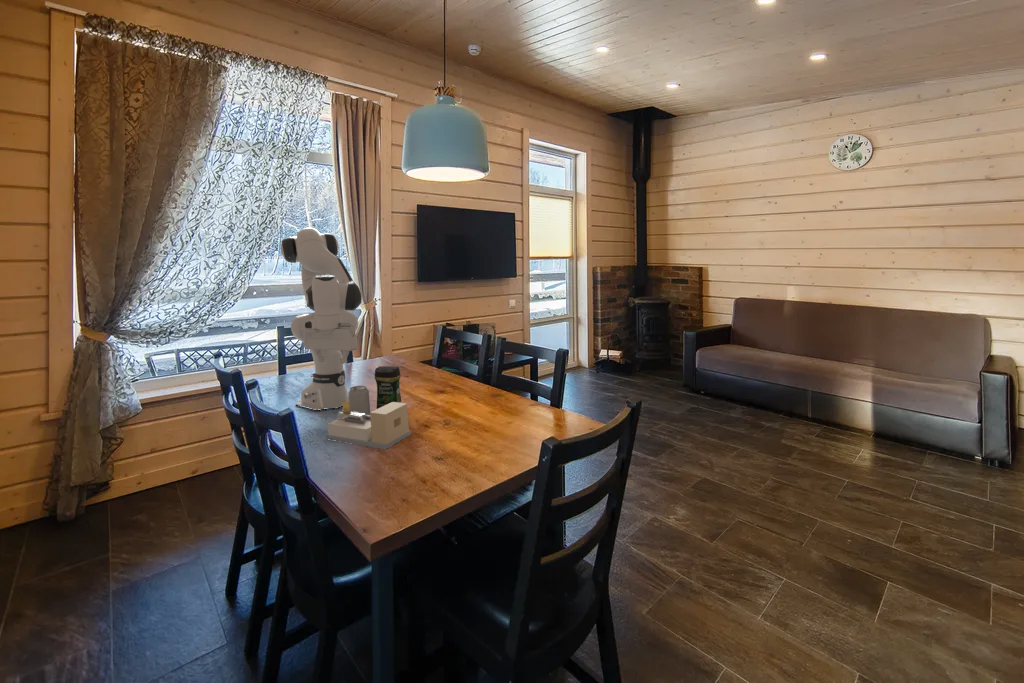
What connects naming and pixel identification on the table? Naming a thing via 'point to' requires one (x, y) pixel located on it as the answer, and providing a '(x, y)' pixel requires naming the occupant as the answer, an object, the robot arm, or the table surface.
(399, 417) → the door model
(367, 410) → the can
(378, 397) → the coffee jar
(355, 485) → the table surface
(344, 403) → the bolt
